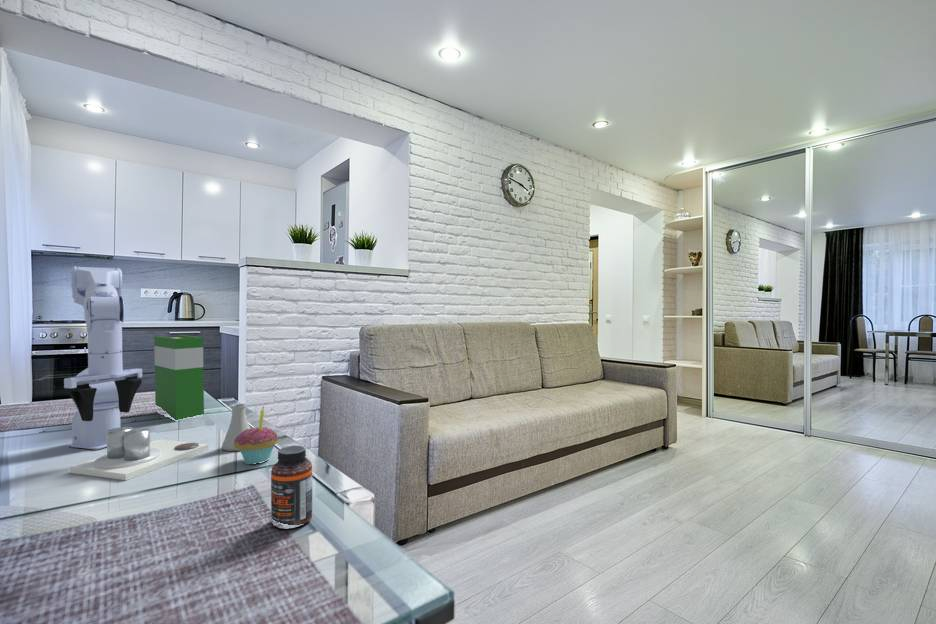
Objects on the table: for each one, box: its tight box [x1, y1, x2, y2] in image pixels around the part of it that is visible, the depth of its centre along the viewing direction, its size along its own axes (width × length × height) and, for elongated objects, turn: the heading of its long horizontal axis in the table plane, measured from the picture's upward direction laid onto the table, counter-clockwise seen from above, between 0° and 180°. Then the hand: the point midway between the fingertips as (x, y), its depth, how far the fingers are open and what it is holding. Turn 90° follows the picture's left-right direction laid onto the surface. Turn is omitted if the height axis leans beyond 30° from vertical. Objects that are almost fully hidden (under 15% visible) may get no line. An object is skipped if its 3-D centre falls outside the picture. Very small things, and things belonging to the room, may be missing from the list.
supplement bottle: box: [270, 445, 313, 525], centre depth 69 cm, size 6×6×11 cm
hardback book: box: [153, 334, 205, 420], centre depth 138 cm, size 18×7×24 cm, turn 51°
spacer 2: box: [124, 427, 151, 461], centre depth 94 cm, size 4×4×6 cm
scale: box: [69, 438, 209, 481], centre depth 97 cm, size 15×19×2 cm
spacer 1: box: [106, 426, 134, 459], centre depth 95 cm, size 4×4×6 cm
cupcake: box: [234, 406, 279, 465], centre depth 96 cm, size 9×8×12 cm
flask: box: [220, 403, 251, 452], centre depth 106 cm, size 7×7×10 cm
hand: (106, 416), depth 96 cm, fingers open, 7 cm apart
